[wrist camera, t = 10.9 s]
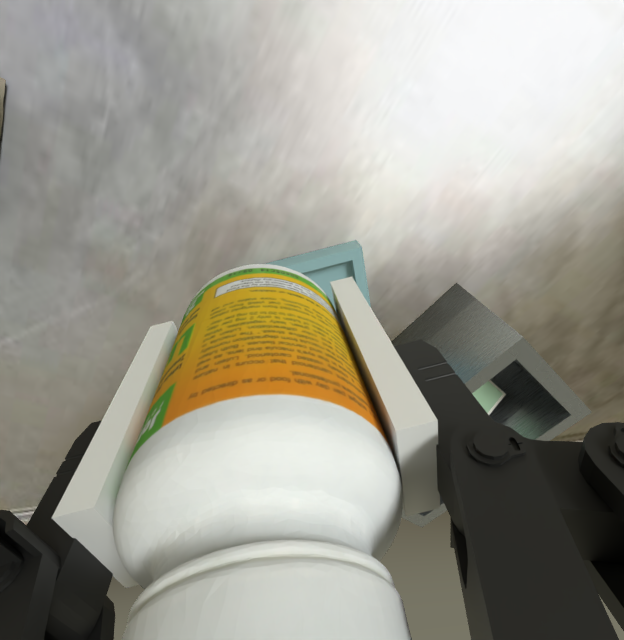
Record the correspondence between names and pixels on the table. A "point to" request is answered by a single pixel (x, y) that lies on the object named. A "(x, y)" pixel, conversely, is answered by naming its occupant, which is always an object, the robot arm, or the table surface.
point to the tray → (331, 266)
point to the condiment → (1, 100)
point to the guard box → (495, 370)
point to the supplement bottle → (261, 477)
